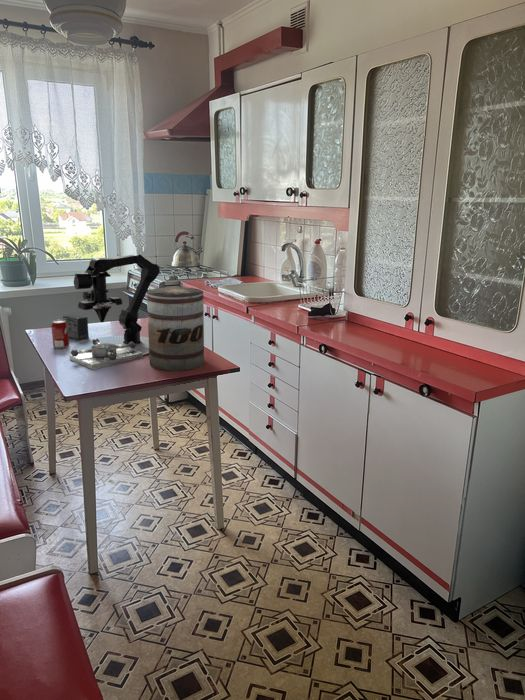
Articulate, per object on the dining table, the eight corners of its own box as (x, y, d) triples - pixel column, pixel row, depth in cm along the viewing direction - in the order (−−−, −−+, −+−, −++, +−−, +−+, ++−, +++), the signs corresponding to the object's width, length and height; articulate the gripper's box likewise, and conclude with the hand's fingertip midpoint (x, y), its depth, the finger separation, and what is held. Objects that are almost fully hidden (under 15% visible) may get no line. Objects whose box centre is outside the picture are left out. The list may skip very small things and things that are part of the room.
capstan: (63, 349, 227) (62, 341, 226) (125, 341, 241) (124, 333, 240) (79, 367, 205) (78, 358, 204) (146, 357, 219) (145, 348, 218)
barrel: (181, 375, 206) (180, 299, 197) (138, 365, 216) (134, 293, 208) (214, 360, 225) (214, 290, 216) (172, 351, 235) (171, 285, 226)
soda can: (64, 349, 234) (61, 323, 231) (50, 348, 236) (47, 322, 232) (72, 345, 241) (70, 319, 237) (58, 344, 242) (56, 318, 238)
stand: (119, 348, 238) (119, 343, 238) (142, 357, 227) (142, 351, 226) (69, 359, 222) (69, 353, 221) (92, 369, 210) (91, 363, 209)
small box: (89, 337, 254) (88, 316, 251) (78, 340, 248) (77, 319, 245) (75, 334, 259) (73, 313, 256) (64, 337, 254) (62, 315, 251)
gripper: (108, 282, 242) (110, 315, 246) (70, 287, 229) (73, 322, 233) (122, 285, 235) (124, 320, 239) (83, 290, 221) (86, 326, 226)
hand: (101, 322), depth 235 cm, fingers closed
